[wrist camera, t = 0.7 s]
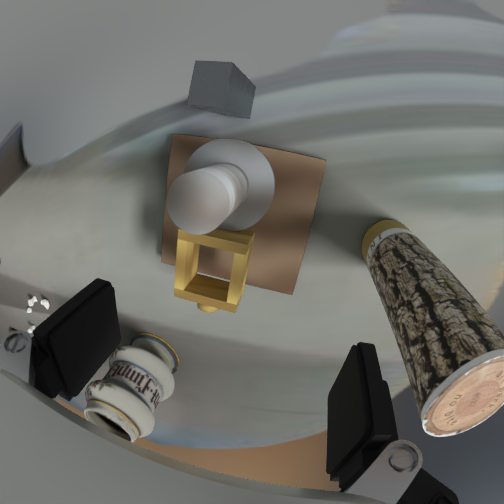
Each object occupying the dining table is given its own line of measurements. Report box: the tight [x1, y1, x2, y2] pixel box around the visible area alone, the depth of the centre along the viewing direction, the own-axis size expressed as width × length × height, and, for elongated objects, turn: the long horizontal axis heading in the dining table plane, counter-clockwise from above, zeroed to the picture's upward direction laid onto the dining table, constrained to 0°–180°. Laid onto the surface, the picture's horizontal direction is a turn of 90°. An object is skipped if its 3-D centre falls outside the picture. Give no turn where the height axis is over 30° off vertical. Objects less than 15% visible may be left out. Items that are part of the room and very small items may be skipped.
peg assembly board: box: [161, 134, 326, 313], centre depth 28 cm, size 18×18×16 cm
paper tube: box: [362, 220, 504, 437], centre depth 22 cm, size 7×7×25 cm
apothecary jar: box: [84, 333, 179, 443], centre depth 39 cm, size 12×12×18 cm
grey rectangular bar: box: [187, 61, 256, 119], centre depth 25 cm, size 4×3×11 cm
